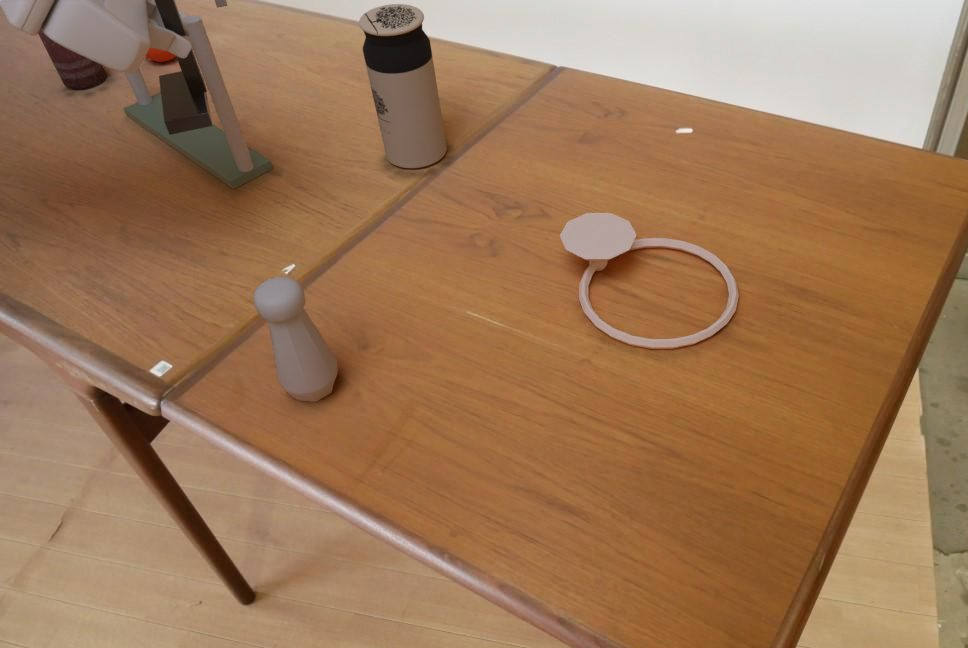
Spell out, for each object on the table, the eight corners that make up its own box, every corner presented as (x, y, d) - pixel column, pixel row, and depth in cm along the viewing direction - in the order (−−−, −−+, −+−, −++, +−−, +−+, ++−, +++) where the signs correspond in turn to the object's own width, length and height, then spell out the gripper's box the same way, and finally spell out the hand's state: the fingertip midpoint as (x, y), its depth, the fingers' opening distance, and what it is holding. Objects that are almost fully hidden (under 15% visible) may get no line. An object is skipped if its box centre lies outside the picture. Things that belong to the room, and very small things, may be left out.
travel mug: (441, 132, 114) (419, -2, 100) (452, 163, 108) (430, 26, 95) (382, 143, 112) (353, 8, 99) (390, 175, 107) (360, 38, 94)
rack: (233, 189, 106) (171, 31, 91) (126, 116, 120) (57, -33, 105) (273, 168, 109) (219, 11, 94) (164, 99, 123) (102, -49, 108)
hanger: (169, 135, 84) (114, 4, 74) (164, 88, 90) (112, -38, 81) (262, 115, 86) (220, -14, 76) (250, 71, 92) (210, -54, 83)
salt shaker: (315, 357, 86) (278, 257, 76) (355, 380, 83) (323, 280, 74) (271, 393, 82) (227, 294, 73) (312, 418, 80) (271, 319, 70)
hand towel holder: (683, 345, 79) (517, 262, 88) (680, 377, 82) (520, 293, 91) (773, 251, 87) (613, 184, 96) (767, 283, 90) (613, 215, 100)
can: (113, 81, 127) (70, -13, 116) (69, 95, 124) (21, 0, 114) (103, 66, 130) (60, -27, 120) (60, 79, 128) (13, -15, 118)
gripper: (23, -54, 82) (166, 25, 91) (11, 35, 69) (179, 117, 78) (50, -112, 79) (194, -24, 89) (43, -31, 66) (212, 62, 76)
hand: (187, 43), depth 83 cm, fingers closed on hanger
